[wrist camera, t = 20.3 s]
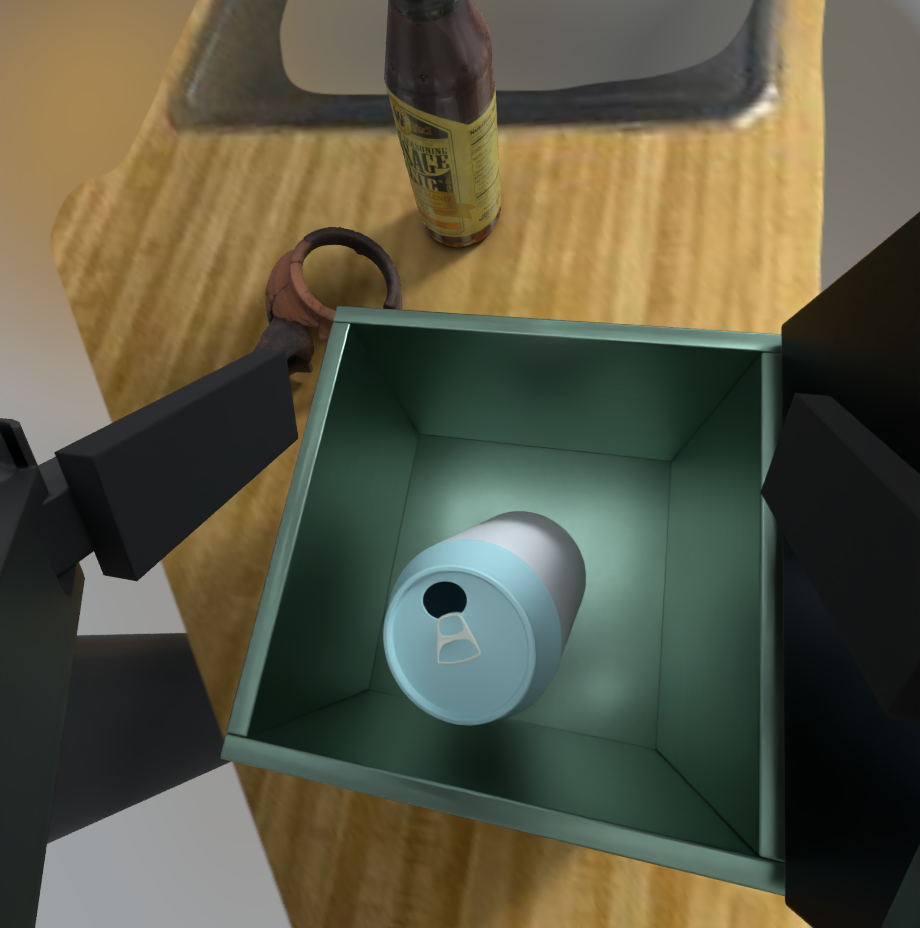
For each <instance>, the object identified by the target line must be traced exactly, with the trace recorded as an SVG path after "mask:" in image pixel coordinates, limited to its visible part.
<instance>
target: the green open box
mask: <svg viewBox="0 0 920 928" xmlns="http://www.w3.org/2000/svg"><path fill="white" fill-rule="evenodd" d="M333 321H334V323H333V324H332V328H331V332H330V335H329V339H328V343H327V347H326V351H325V355H324V358H323V362H322V366H321V370H320V374H319V378H318V382H317V385H316V389H315V393H314V397H313V401H312V405H311V408H310V412H309V416H308V420H307V424H306V428H305V431H304V435H303V439H302V443H301V447H300V451H299V454H298V458H297V462H296V466H295V470H294V474H293V478H292V481H291V485H290V489H289V493H288V497H287V501H286V504H285V508H284V512H283V516H282V520H281V524H280V527H279V531H278V535H277V539H276V543H275V547H274V550H273V554H272V558H271V562H270V566H269V570H268V573H267V577H266V581H265V585H264V589H263V593H262V597H261V600H260V604H259V608H258V612H257V616H256V620H255V623H254V627H253V631H252V635H251V639H250V643H249V646H248V650H247V654H246V658H245V662H244V666H243V669H242V673H241V677H240V681H239V685H238V689H237V692H236V696H235V700H234V704H233V708H232V712H231V716H230V719H229V723H228V727H227V732H228V733H227V734H226V736H225V739H224V743H223V747H222V750H221V754H220V758H221V759H224V760H228V761H233V762H237V763H241V764H245V765H249V766H253V767H257V768H261V769H265V770H269V771H274V772H278V773H282V774H286V775H290V776H294V777H298V778H302V779H306V780H310V781H315V782H319V783H323V784H327V785H331V786H335V787H339V788H343V789H347V790H352V791H356V792H360V793H364V794H368V795H372V796H376V797H380V798H384V799H388V800H393V801H397V802H401V803H405V804H409V805H413V806H417V807H421V808H425V809H430V810H434V811H438V812H442V813H446V814H450V815H454V816H458V817H462V818H466V819H471V820H475V821H479V822H483V823H487V824H491V825H495V826H499V827H503V828H507V829H512V830H516V831H520V832H524V833H528V834H532V835H536V836H540V837H544V838H549V839H553V840H557V841H561V842H565V843H569V844H573V845H577V846H581V847H585V848H590V849H594V850H598V851H602V852H606V853H610V854H614V855H618V856H622V857H627V858H631V859H635V860H639V861H643V862H647V863H651V864H655V865H659V866H663V867H668V868H672V869H676V870H680V871H684V872H688V873H692V874H696V875H700V876H704V877H709V878H713V879H717V880H721V881H725V882H729V883H733V884H737V885H741V886H746V887H750V888H754V889H758V890H762V891H766V892H770V893H774V894H778V895H782V896H785V824H784V662H783V532H782V530H781V528H780V526H779V525H778V523H777V521H776V519H775V518H774V516H773V514H772V512H771V510H770V509H769V507H768V505H767V503H766V501H765V500H764V498H763V496H762V494H761V493H760V492H761V489H762V486H763V483H764V481H765V478H766V475H767V472H768V469H769V466H770V463H771V460H772V458H773V455H774V452H775V449H776V446H777V443H778V440H779V437H780V434H781V432H782V338H781V334H767V333H752V332H736V331H721V330H705V329H690V328H674V327H659V326H643V325H627V324H612V323H596V322H581V321H565V320H550V319H534V318H519V317H503V316H488V315H472V314H456V313H441V312H425V311H410V310H394V309H379V308H363V307H348V306H337V308H336V312H335V316H334V320H333ZM512 511H527V512H533V513H537V514H540V515H543V516H545V517H547V518H549V519H551V520H553V521H554V522H556V523H557V524H559V525H560V526H561V527H562V528H564V529H565V530H566V531H567V532H568V533H569V535H570V536H571V537H572V538H573V540H574V541H575V543H576V544H577V546H578V548H579V550H580V552H581V555H582V557H583V560H584V564H585V570H586V587H585V592H584V596H583V599H582V602H581V605H580V607H579V610H578V613H577V615H576V618H575V621H574V624H573V626H572V629H571V632H570V635H569V637H568V640H567V643H566V645H565V648H564V651H563V654H562V656H561V659H560V662H559V665H558V667H557V670H556V673H555V675H554V677H553V679H552V681H551V683H550V684H549V686H548V688H547V689H546V690H545V692H544V693H543V694H542V695H541V696H540V697H539V698H538V700H537V701H535V702H534V703H533V704H532V705H531V706H529V707H528V708H526V709H525V710H523V711H521V712H519V713H517V714H515V715H513V716H511V717H508V718H505V719H501V720H496V721H492V722H489V723H486V724H482V725H474V726H465V725H456V724H451V723H448V722H444V721H442V720H439V719H437V718H435V717H433V716H431V715H429V714H428V713H426V712H424V711H423V710H422V709H420V708H419V707H418V706H416V705H415V704H414V703H413V702H412V701H411V700H410V699H409V698H408V697H407V696H406V695H405V693H404V692H403V691H402V690H401V688H400V687H399V685H398V684H397V682H396V680H395V678H394V677H393V675H392V673H391V670H390V668H389V665H388V662H387V659H386V655H385V650H384V642H383V628H384V621H385V616H386V612H387V609H388V605H389V600H390V596H391V593H392V590H393V588H394V585H395V583H396V581H397V579H398V578H399V576H400V574H401V573H402V571H403V570H404V568H405V567H406V566H407V565H408V564H409V563H410V562H411V561H412V560H413V559H414V558H415V557H416V556H417V555H418V554H420V553H421V552H423V551H424V550H426V549H427V548H429V547H432V546H434V545H436V544H438V543H440V542H442V541H444V540H446V539H448V538H450V537H453V536H455V535H457V534H459V533H461V532H463V531H465V530H467V529H469V528H471V527H474V526H476V525H478V524H480V523H482V522H484V521H486V520H488V519H490V518H493V517H495V516H497V515H500V514H503V513H506V512H512Z"/></svg>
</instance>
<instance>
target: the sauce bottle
mask: <svg viewBox="0 0 920 928" xmlns="http://www.w3.org/2000/svg"><path fill="white" fill-rule="evenodd" d="M387 18H388V19H387V37H386V56H385V73H384V79H385V84H386V88H387V92H388V97H389V99H390V103H391V109H392V111H393V115H394V119H395V123H396V127H397V132H398V137H399V140H400V144H401V147H402V151H403V155H404V159H405V163H406V167H407V170H408V173H409V177H410V181H411V185H412V189H413V193H414V197H415V200H416V204H417V208H418V212H419V215H420V217H421V219H422V221H423V222H424V223H425V229H426V230H427V231H428V233H429V234H430V236H431V237H432V238H434V239H435V240H436V241H438V242H440V243H443V244H445V245H449V246H451V247H456V248H458V247H465V246H467V245H469V244H474V243H476V242H479V241H481V240H482V239H484V238H485V237H486V236H487V235H488V234H489V233H490V232H491V231H492V230H493V228H494V226H495V225H496V222H497V220H498V218H499V215H500V210H501V208H500V202H501V194H500V174H499V154H498V133H497V112H496V92H495V82H494V78H493V69H492V48H491V39H490V34H489V31H488V27H487V24H486V22H485V19H484V17H483V15H482V14H481V12H480V9H479V8H478V7H477V6H476V4H475V3H474V1H473V0H388V17H387Z"/></svg>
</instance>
